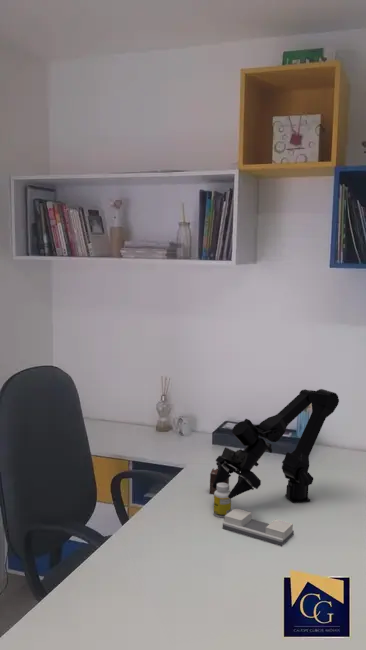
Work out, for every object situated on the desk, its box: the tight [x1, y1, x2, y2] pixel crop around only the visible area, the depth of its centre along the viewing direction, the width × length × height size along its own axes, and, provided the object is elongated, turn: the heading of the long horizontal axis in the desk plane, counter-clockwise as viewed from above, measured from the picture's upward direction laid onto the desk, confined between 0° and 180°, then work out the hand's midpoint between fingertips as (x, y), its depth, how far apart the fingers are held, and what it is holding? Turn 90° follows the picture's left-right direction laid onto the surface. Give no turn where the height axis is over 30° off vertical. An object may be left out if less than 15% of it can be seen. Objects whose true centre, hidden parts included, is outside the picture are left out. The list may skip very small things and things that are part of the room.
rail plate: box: [222, 507, 295, 547], centre depth 181 cm, size 19×9×4 cm, turn 58°
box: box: [209, 467, 230, 495], centre depth 211 cm, size 6×6×7 cm
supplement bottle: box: [213, 483, 232, 519], centre depth 192 cm, size 5×5×10 cm
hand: (221, 492), depth 191 cm, fingers open, 9 cm apart
